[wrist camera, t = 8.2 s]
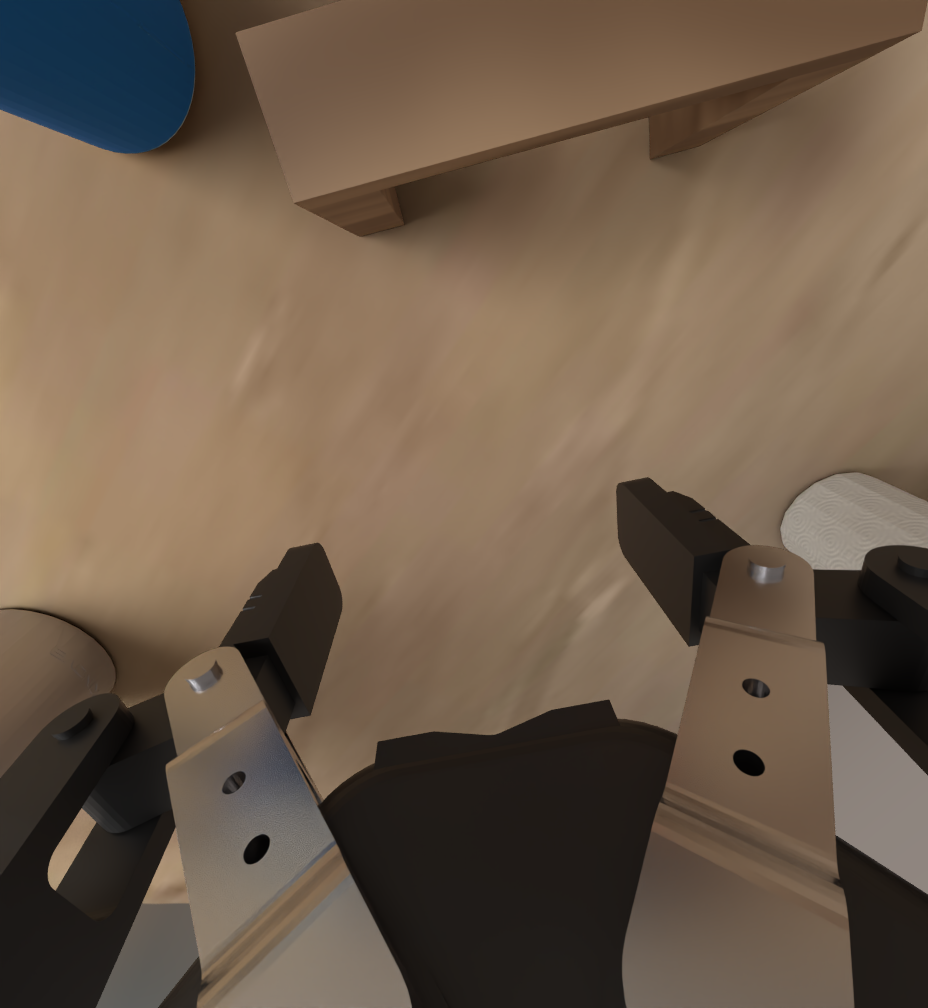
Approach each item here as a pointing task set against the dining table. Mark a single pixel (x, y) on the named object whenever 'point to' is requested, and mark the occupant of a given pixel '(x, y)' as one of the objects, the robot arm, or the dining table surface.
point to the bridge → (529, 80)
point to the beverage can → (98, 69)
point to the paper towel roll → (852, 521)
